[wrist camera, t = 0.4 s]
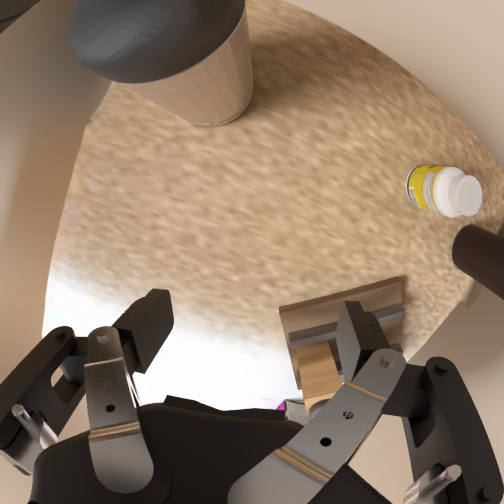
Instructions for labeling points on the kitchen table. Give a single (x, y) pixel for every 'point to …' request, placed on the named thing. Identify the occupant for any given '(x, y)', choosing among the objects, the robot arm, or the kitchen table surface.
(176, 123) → the kitchen table surface
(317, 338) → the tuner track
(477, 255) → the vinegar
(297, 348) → the block
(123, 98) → the kitchen table surface
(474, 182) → the supplement bottle
